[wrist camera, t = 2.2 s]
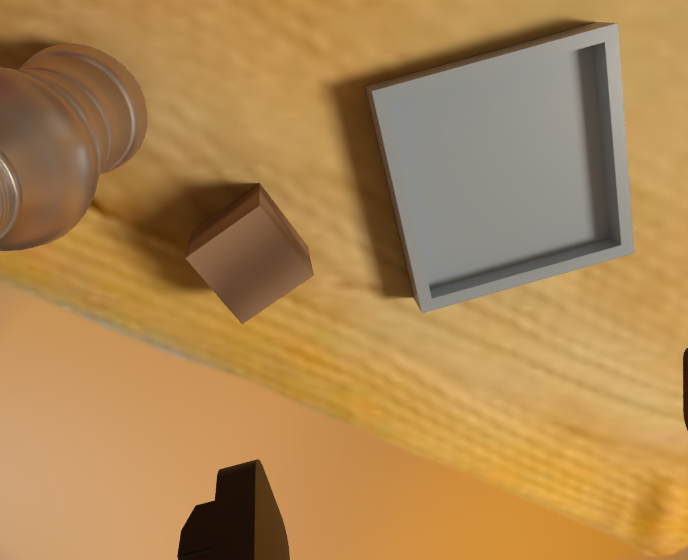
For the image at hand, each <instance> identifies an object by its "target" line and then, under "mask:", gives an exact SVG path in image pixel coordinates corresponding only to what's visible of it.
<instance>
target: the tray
mask: <svg viewBox="0 0 688 560" xmlns="http://www.w3.org/2000/svg"><path fill="white" fill-rule="evenodd" d="M365 88H366V92H367V97H368V101H369V105H370V110H371V114H372V118H373V123H374V127H375V131H376V136H377V140H378V144H379V149H380V153H381V158H382V162H383V166H384V171H385V175H386V179H387V184H388V188H389V192H390V197H391V201H392V205H393V210H394V214H395V218H396V223H397V227H398V232H399V236H400V240H401V245H402V249H403V253H404V258H405V262H406V266H407V271H408V275H409V279H410V284H411V288H412V292H413V297H414V299H415V301H416V303H417V305H418V307H419V309H420V310H421V312H422V313H425V312H428V311H432V310H435V309H439V308H442V307H446V306H449V305H453V304H457V303H460V302H464V301H467V300H471V299H474V298H478V297H481V296H485V295H488V294H492V293H495V292H499V291H502V290H506V289H510V288H513V287H517V286H520V285H524V284H527V283H531V282H534V281H538V280H541V279H545V278H548V277H552V276H555V275H559V274H563V273H566V272H570V271H573V270H577V269H580V268H584V267H587V266H591V265H594V264H598V263H601V262H605V261H609V260H612V259H616V258H619V257H623V256H626V255H630V254H633V253H634V241H633V228H632V214H631V200H630V186H629V172H628V159H627V145H626V131H625V117H624V103H623V90H622V76H621V62H620V48H619V34H618V23H604V22H596V23H592V24H589V25H585V26H581V27H578V28H574V29H571V30H567V31H563V32H560V33H556V34H553V35H549V36H545V37H542V38H538V39H535V40H531V41H527V42H524V43H520V44H517V45H513V46H509V47H506V48H502V49H499V50H495V51H491V52H488V53H484V54H481V55H477V56H473V57H470V58H466V59H463V60H459V61H455V62H452V63H448V64H445V65H441V66H437V67H434V68H430V69H427V70H423V71H419V72H416V73H412V74H409V75H405V76H401V77H398V78H394V79H391V80H387V81H383V82H380V83H376V84H373V85H369V86H365Z"/></svg>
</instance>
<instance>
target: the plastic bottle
mask: <svg viewBox="0 0 688 560" xmlns="http://www.w3.org/2000/svg"><path fill="white" fill-rule="evenodd" d="M146 128H147V109H146V104H145V99H144V96H143V93H142V91H141V88H140V86H139V85H138V83H137V81H136V80H135V78H134V76H133V75H132V74H131V73H130V72H129V71H128V70H127V68H126V67H125V66H123V65H122V64H121V63H120V62H118V61H117V60H116V59H115V58H113V57H111V56H109V55H108V54H106V53H104V52H102V51H100V50H98V49H95V48H92V47H89V46H86V45H79V44H58V45H54V46H51V47H47V48H45V49H43V50H41V51H39V52H37V53H36V54H35V55H33V56H32V57H31V58H30V59H29V60H28V61H26V62H25V63H24V64H23V65H22V66H21V67H20V69H10V68H4V67H0V251H14V250H24V249H29V248H34V247H37V246H41V245H45V244H48V243H51V242H53V241H55V240H57V239H59V238H60V237H62V236H64V235H65V234H66V233H68V232H69V231H70V230H71V229H72V228H74V227H75V226H76V225H77V223H78V222H79V221H80V219H81V218H82V217H83V216H84V214H85V213H86V211H87V209H88V207H89V205H90V203H91V201H92V198H93V196H94V194H95V191H96V187H97V183H98V179H99V176H100V174H103V173H107V172H109V171H111V170H114V169H116V168H117V167H119V166H121V165H123V164H125V163H126V162H127V161H128V160H130V159H131V158H132V157H133V156H134V155H135V153H136V152H137V151H138V150H139V148H140V146H141V144H142V142H143V140H144V137H145V133H146Z"/></svg>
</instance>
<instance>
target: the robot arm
mask: <svg viewBox="0 0 688 560" xmlns="http://www.w3.org/2000/svg"><path fill="white" fill-rule="evenodd" d="M683 412H684V420H685V424H686V427H687V430H688V348H687V349H686V350H685V352H684V356H683ZM177 557H178V560H290V558H289V557H290V556H289V546H288V540H287V535H286V530H285V526H284V523H283V519H282V516H281V514H280V511H279V508H278V506H277V503H276V500H275V498H274V495H273V492H272V490H271V487H270V484H269V482H268V479H267V476H266V474H265V471H264V468H263V466H262V464H261V462H260V461H259V460H258V459H257V460H254V461H250V462H246V463H242V464H238V465H235V466H231V467H227V468H224V469H220V470H219V471H218V475H217V483H216V494H215V501H211V502H208V503H204V504H200V505H196V506H195V508H194V510H193V511H192V513H191V515H190V516H189V518H188V520H187V522H186V523H185V525H184V527H183V528H182V530H181V536H180V542H179V549H178V556H177Z"/></svg>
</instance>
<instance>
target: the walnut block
mask: <svg viewBox="0 0 688 560" xmlns="http://www.w3.org/2000/svg"><path fill="white" fill-rule="evenodd" d="M185 259H186V260H187V261H188V262H189V263H190V264H191V266H192V267H193V268H194V269H195V270H196V271H197V273H198V274H199V275H200V276H201V277H202V278H203V279H204V281H205V282H206V283H207V284H208V285H209V286H210V288H211V289H212V290H213V291H214V292H215V293H216V295H217V296H218V297H219V298H220V299H221V300H222V301H223V303H224V304H225V305H226V306H227V307H228V308H229V310H230V311H231V312H232V313H233V314H234V315H235V317H236V318H237V319H238V320H239V321H240V322H241V323H242V324H243V323H245V322H246V321H248V320H249V319H250V318H252V317H253V316H255V315H256V314H258V313H259V312H261V311H262V310H264V309H265V308H267V307H268V306H270V305H271V304H272V303H274V302H275V301H277V300H278V299H280V298H281V297H283V296H284V295H286V294H287V293H289V292H290V291H292V290H293V289H294V288H296V287H297V286H299V285H300V284H302V283H303V282H305V281H306V280H308V279H309V278H311V277H312V276H313V275H314V274H313V270H312V265H311V260H310V255H309V250H308V246H307V245H306V243H305V242H304V241H303V239H302V238H301V237H300V236H299V234H298V233H297V232H296V230H295V229H294V228H293V226H292V225H291V224H290V222H289V221H288V220H287V219H286V217H285V216H284V215H283V213H282V212H281V211H280V209H279V208H278V207H277V205H276V204H275V203H274V201H273V200H272V199H271V198H270V196H269V195H268V194H267V192H266V191H265V190H264V188H263V187H262V186H261V184H260V183H259V184H258V185H256V186H255V187H253V188H252V189H251V190H249V191H248V192H246V193H245V194H244V195H242V196H241V197H239V198H238V199H237V200H235V201H234V202H232V203H231V204H230V205H228V206H227V207H225V208H224V209H223V210H221V211H220V212H218V213H217V214H216V215H214V216H213V217H211V218H210V219H209V220H207V221H206V222H204V223H203V224H202V225H200V226H199V227H197V228H196V229H195V230H193V234H192V237H191V240H190V244H189V247H188V251H187V254H186V257H185Z"/></svg>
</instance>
